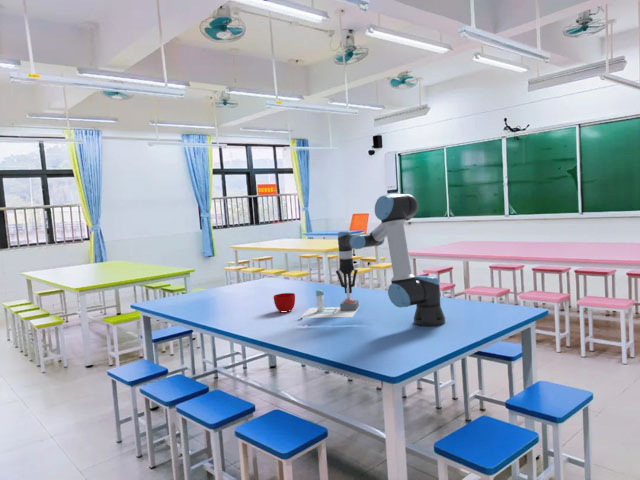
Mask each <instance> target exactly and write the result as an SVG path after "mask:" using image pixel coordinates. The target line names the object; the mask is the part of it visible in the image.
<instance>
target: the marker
mask: <svg viewBox="0 0 640 480" xmlns="http://www.w3.org/2000/svg"><path fill="white" fill-rule="evenodd" d="M315 297H316V308H317V312H324V308H325V301H324V300H325V299H324V290H323V289H316V290H315Z"/></svg>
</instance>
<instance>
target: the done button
mask: <svg viewBox="0 0 640 480" xmlns="http://www.w3.org/2000/svg"><path fill="white" fill-rule="evenodd" d="M353 300H354V298H350V299H347V298H344V301H345V303H354V301H353Z"/></svg>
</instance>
